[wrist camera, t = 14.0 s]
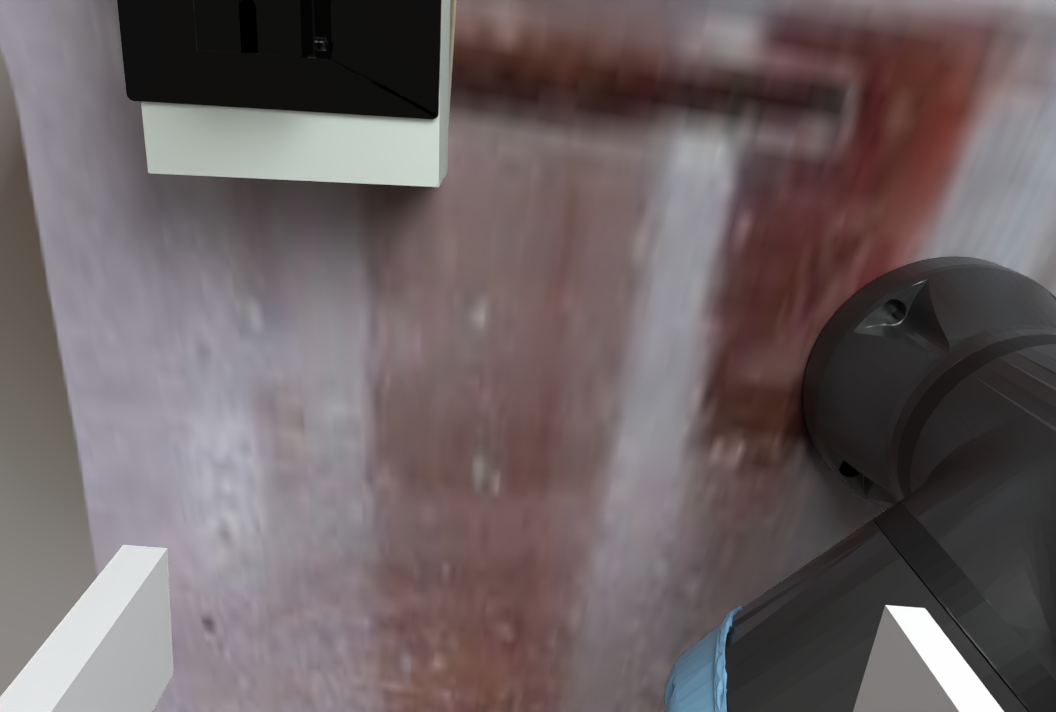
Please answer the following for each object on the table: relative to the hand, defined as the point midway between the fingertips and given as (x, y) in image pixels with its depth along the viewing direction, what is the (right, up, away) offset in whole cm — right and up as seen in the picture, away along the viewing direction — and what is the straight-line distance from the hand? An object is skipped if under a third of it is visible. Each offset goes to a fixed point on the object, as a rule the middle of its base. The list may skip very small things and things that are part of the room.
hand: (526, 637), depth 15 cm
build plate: (-10, +19, +17) cm, 27 cm away
